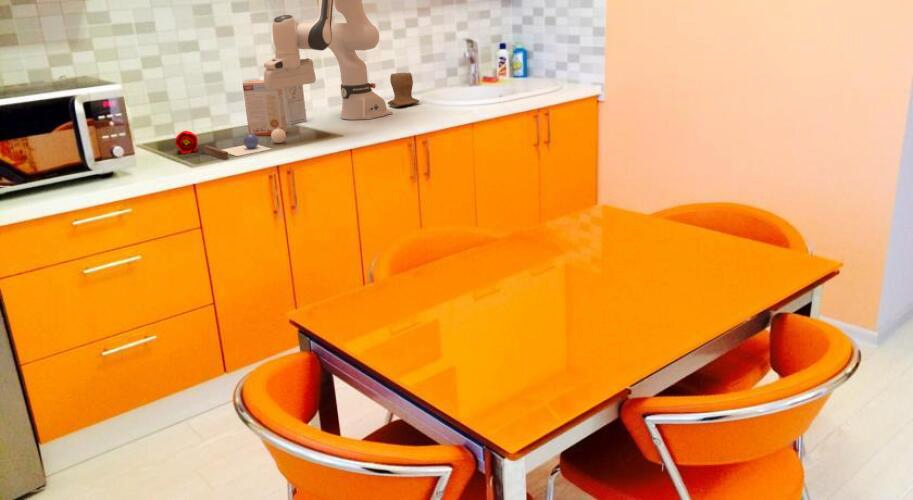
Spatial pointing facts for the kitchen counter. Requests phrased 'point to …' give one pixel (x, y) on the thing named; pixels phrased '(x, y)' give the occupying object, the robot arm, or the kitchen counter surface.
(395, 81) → the brown flared piece
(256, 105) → the cracker box
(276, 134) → the cue ball
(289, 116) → the supplement box
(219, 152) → the rail
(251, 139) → the navy ball
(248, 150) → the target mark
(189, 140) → the flower
